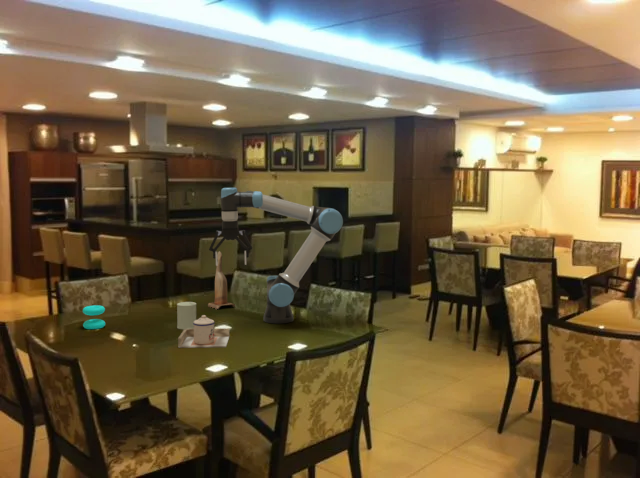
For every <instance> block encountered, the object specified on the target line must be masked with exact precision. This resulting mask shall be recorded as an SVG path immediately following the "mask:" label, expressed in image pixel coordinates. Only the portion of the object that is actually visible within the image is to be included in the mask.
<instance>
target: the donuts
mask: <svg viewBox="0 0 640 478" xmlns="http://www.w3.org/2000/svg"><path fill="white" fill-rule="evenodd" d="M105 311H106V308H105V307H104V306H103V305H100V304H99V305H98V304H96V305H87V306H85V307H83V308H82V313H83V315H85V316H99V315H102V314H103V313H105ZM82 326H83V328H84V329H86V330H99V329H103V328H104V327H105V326H106V322H105V320H103V319H100V318H90V319H87V320H85V321H84V322H83V324H82Z"/></svg>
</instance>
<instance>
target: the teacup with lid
mask: <svg viewBox="0 0 640 478" xmlns="http://www.w3.org/2000/svg"><path fill="white" fill-rule="evenodd" d="M193 324H194V343H196V344H210V343H213V342H214V328H215V321H214V320H213V319H212V318H209V317H207V315H205V314H202V315H201V317H199V318H197V319H196V320H195V321H194V322H193Z"/></svg>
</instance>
